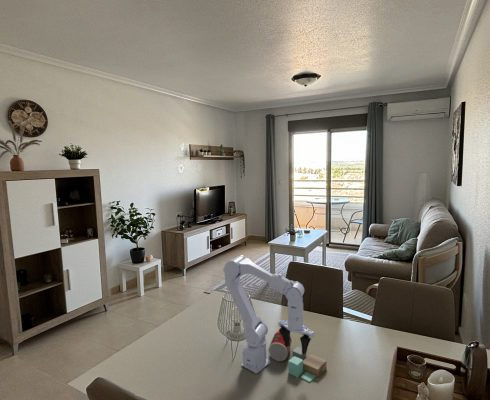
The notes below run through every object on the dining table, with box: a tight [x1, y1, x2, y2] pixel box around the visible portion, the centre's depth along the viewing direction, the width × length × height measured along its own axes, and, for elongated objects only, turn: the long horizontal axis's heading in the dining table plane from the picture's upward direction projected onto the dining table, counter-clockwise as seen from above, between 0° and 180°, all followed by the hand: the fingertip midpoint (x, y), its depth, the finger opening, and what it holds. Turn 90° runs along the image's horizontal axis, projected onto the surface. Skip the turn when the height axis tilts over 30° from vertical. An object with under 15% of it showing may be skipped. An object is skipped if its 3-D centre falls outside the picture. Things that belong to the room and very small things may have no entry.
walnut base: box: [303, 354, 327, 378], centre depth 123 cm, size 7×7×4 cm
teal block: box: [288, 356, 304, 378], centre depth 122 cm, size 4×4×5 cm
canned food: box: [268, 330, 292, 362], centre depth 134 cm, size 8×8×11 cm
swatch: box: [300, 371, 316, 383], centre depth 119 cm, size 4×4×1 cm
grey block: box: [291, 346, 307, 360], centre depth 128 cm, size 4×4×5 cm
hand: (295, 349), depth 121 cm, fingers open, 7 cm apart
